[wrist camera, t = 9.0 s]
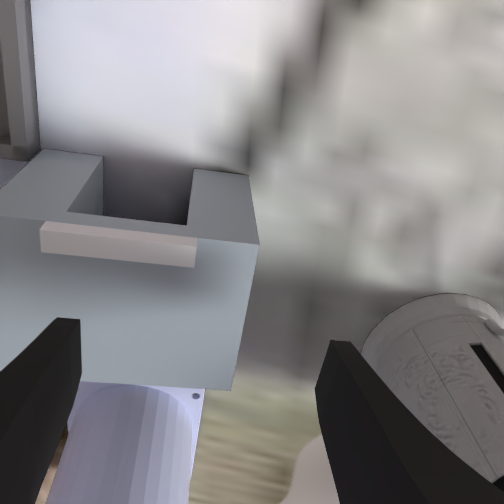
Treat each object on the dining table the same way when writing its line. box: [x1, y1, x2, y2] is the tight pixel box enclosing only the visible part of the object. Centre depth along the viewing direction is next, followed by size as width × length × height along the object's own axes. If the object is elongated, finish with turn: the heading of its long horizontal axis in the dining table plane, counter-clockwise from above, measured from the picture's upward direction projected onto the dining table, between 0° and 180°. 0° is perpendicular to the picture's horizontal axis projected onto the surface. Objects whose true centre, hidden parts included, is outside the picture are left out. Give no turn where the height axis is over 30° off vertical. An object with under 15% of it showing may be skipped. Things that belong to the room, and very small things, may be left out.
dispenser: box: [0, 149, 260, 391], centre depth 19 cm, size 7×9×7 cm
